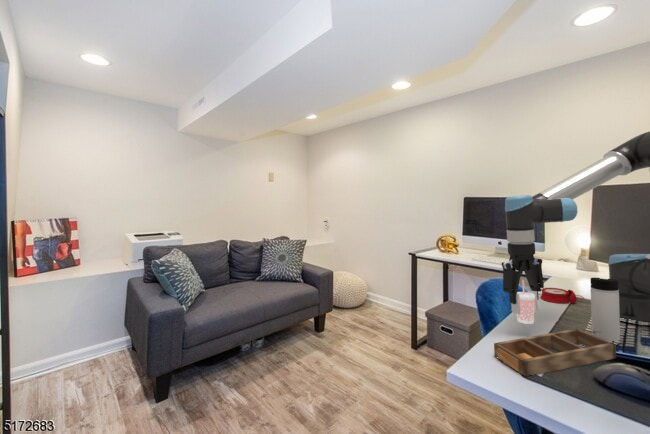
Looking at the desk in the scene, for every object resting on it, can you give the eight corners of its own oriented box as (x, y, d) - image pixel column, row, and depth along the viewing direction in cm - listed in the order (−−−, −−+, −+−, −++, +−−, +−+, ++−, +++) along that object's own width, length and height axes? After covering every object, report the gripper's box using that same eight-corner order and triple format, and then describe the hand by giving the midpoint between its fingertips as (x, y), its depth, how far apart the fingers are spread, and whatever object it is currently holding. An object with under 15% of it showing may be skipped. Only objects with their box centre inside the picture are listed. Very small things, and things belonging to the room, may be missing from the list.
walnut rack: (576, 341, 91) (576, 328, 91) (616, 358, 80) (615, 344, 80) (493, 356, 85) (492, 343, 85) (523, 377, 75) (523, 362, 75)
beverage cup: (515, 316, 101) (512, 276, 100) (536, 319, 97) (534, 278, 97) (514, 323, 96) (511, 281, 95) (537, 326, 92) (534, 282, 92)
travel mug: (592, 342, 89) (590, 278, 88) (592, 334, 94) (590, 273, 93) (621, 348, 85) (619, 281, 84) (619, 339, 90) (617, 276, 89)
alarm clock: (536, 286, 134) (577, 282, 126) (540, 300, 133) (582, 296, 125) (537, 293, 125) (582, 289, 117) (542, 307, 125) (587, 304, 117)
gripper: (535, 238, 101) (538, 303, 102) (486, 244, 98) (491, 311, 98) (555, 240, 94) (559, 310, 95) (504, 247, 90) (509, 320, 91)
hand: (524, 311), depth 97 cm, fingers closed on beverage cup, 6 cm apart
